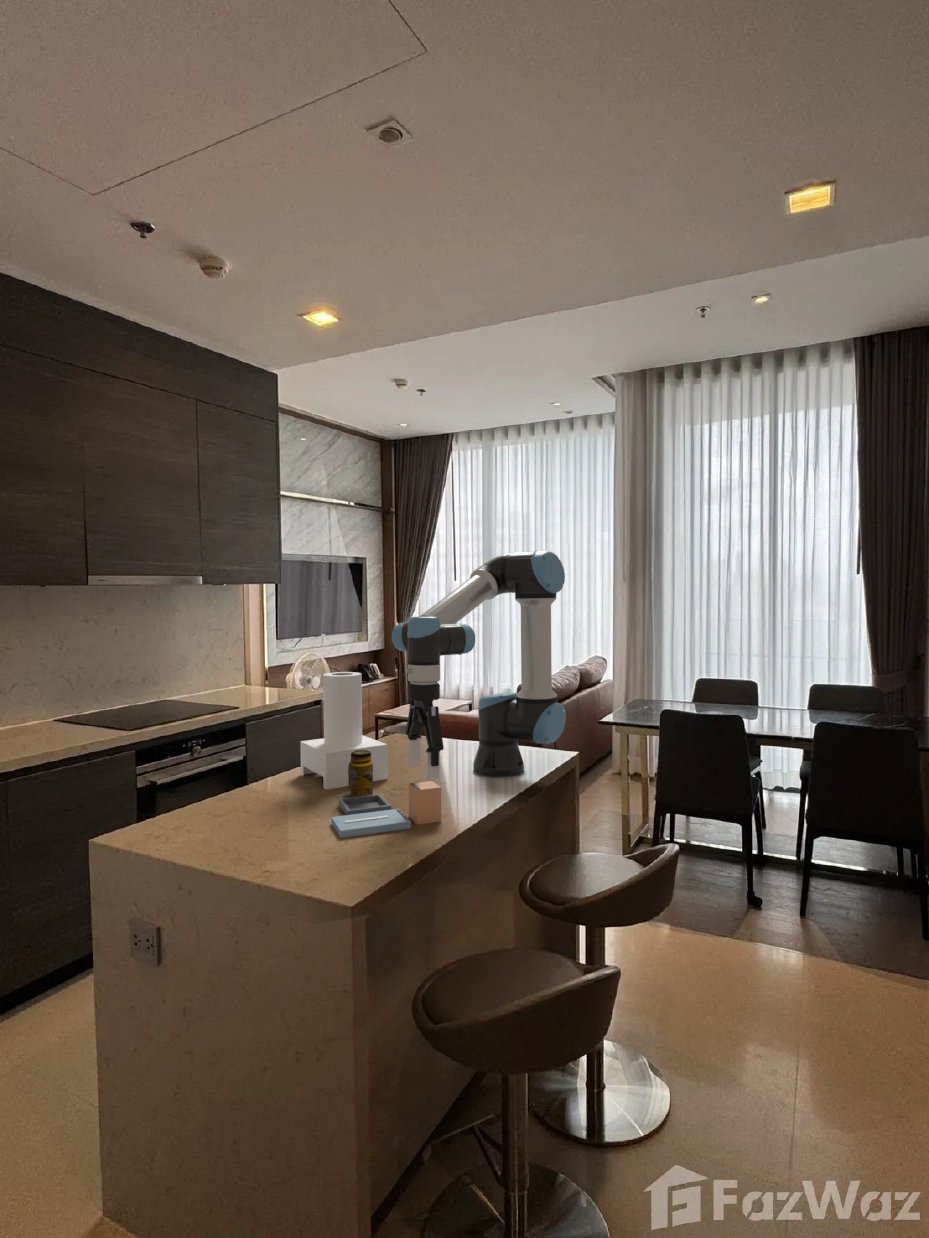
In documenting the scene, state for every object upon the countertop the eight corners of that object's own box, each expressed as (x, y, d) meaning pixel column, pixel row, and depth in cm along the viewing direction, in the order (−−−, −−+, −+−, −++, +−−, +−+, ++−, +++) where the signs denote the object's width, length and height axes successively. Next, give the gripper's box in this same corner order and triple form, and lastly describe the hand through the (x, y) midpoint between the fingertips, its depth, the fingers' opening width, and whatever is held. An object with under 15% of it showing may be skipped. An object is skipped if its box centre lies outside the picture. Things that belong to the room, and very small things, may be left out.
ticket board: (398, 815, 164) (398, 807, 164) (411, 828, 155) (411, 820, 155) (331, 823, 158) (331, 816, 158) (340, 838, 149) (340, 829, 149)
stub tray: (379, 801, 175) (379, 793, 175) (391, 813, 166) (391, 805, 165) (338, 806, 171) (338, 798, 171) (347, 819, 162) (347, 810, 161)
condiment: (379, 798, 178) (378, 752, 178) (348, 804, 174) (348, 757, 173) (366, 791, 184) (366, 747, 184) (337, 797, 180) (336, 751, 179)
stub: (432, 813, 166) (432, 780, 165) (441, 821, 160) (441, 786, 160) (408, 816, 163) (408, 782, 163) (416, 824, 158) (416, 789, 157)
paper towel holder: (387, 778, 197) (386, 674, 196) (326, 789, 187) (324, 679, 186) (359, 765, 213) (357, 669, 212) (300, 775, 202) (299, 673, 201)
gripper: (393, 677, 171) (393, 762, 171) (425, 689, 148) (425, 787, 148) (421, 676, 173) (421, 760, 174) (458, 687, 150) (458, 784, 151)
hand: (423, 773), depth 161 cm, fingers open, 13 cm apart
